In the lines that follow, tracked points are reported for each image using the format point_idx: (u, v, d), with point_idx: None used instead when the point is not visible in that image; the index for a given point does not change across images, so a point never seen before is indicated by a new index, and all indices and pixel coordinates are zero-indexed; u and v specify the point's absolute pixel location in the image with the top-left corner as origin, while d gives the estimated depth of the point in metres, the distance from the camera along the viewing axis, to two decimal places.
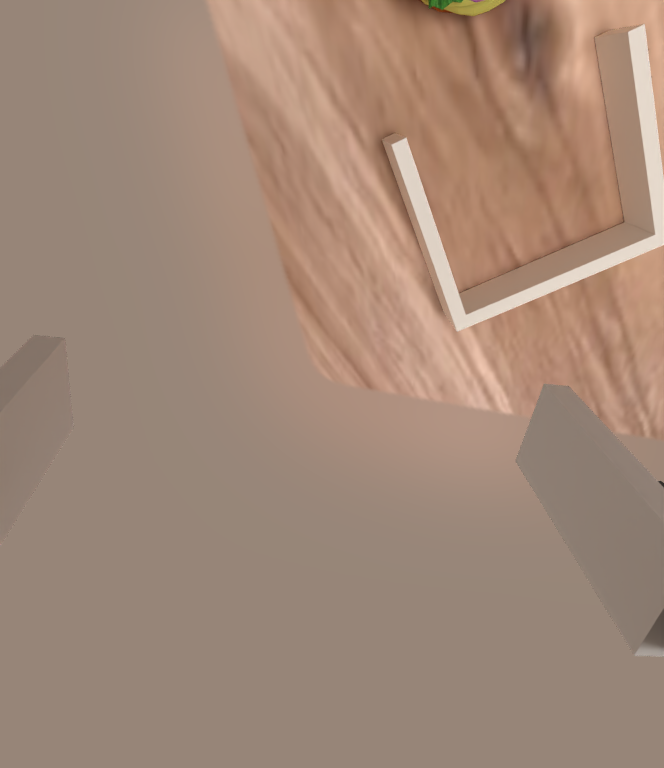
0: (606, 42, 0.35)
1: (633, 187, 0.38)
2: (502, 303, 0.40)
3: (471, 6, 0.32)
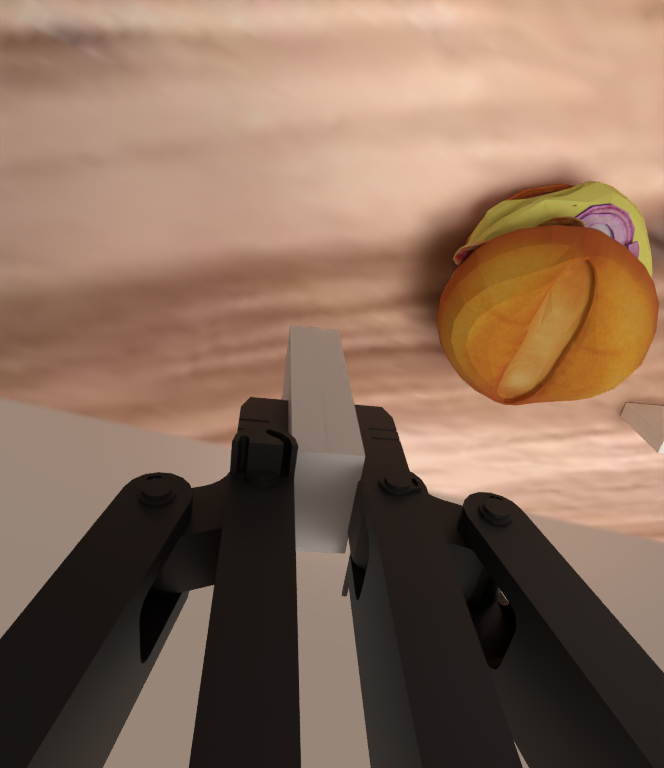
0: None
1: None
2: None
3: None
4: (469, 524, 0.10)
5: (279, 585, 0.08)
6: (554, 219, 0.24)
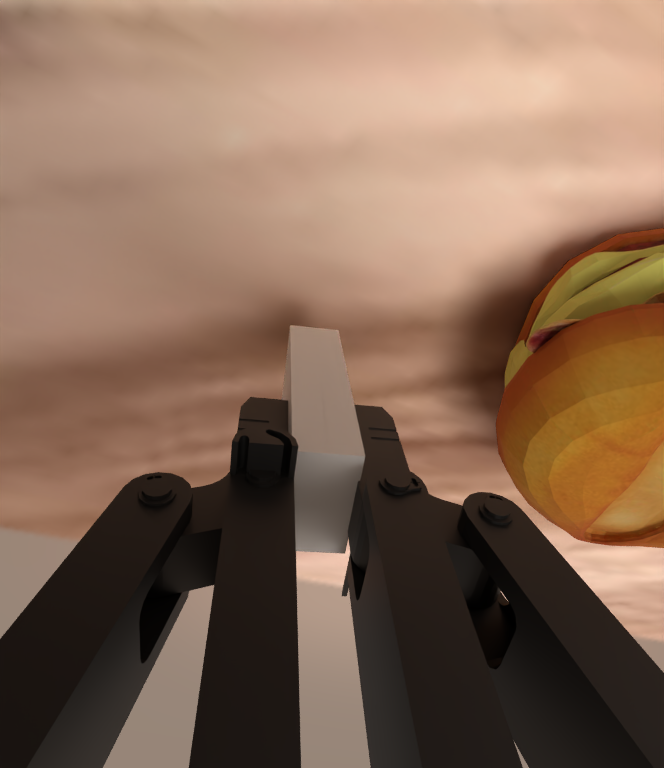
0: None
1: None
2: None
3: None
4: (469, 524, 0.10)
5: (279, 584, 0.08)
6: None
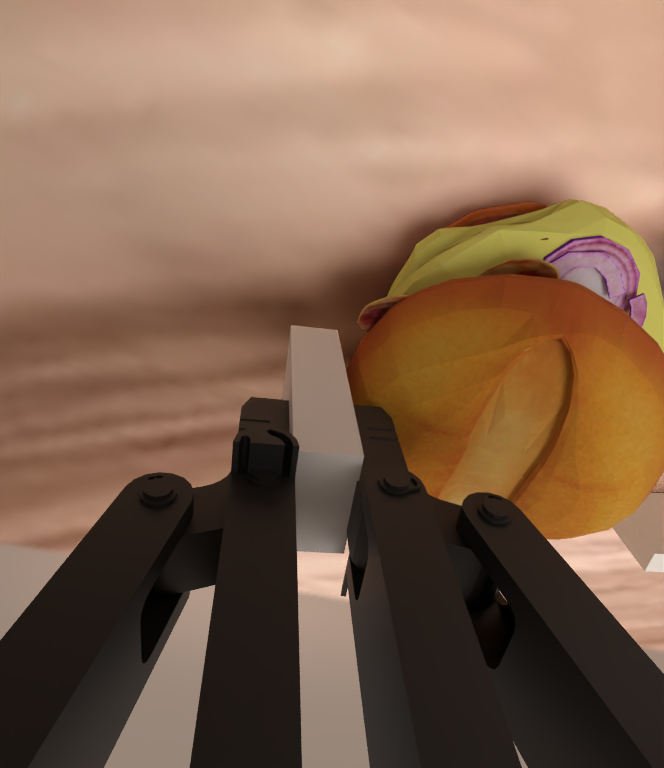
0: None
1: None
2: None
3: None
4: (468, 524, 0.10)
5: (280, 584, 0.08)
6: (511, 262, 0.15)
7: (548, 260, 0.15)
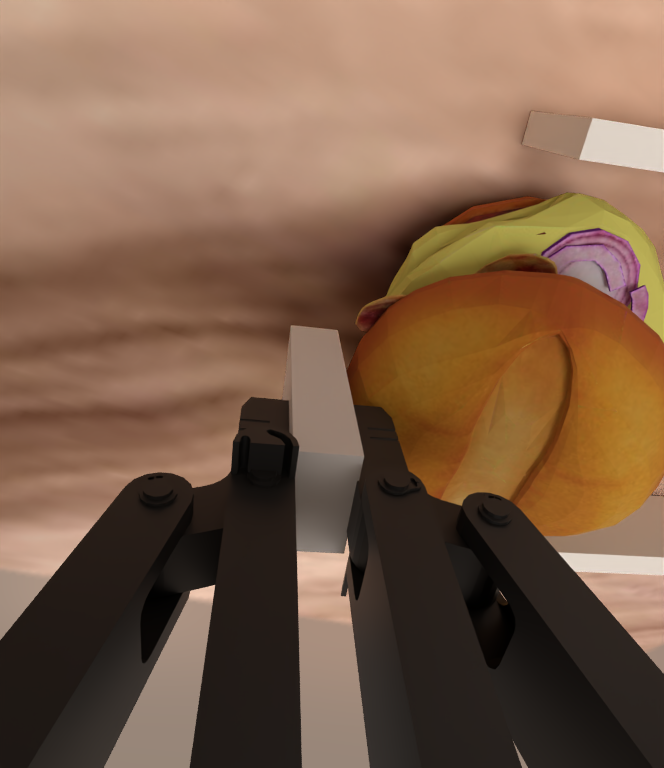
0: None
1: None
2: None
3: None
4: (468, 524, 0.10)
5: (280, 584, 0.08)
6: (509, 258, 0.15)
7: (546, 255, 0.15)
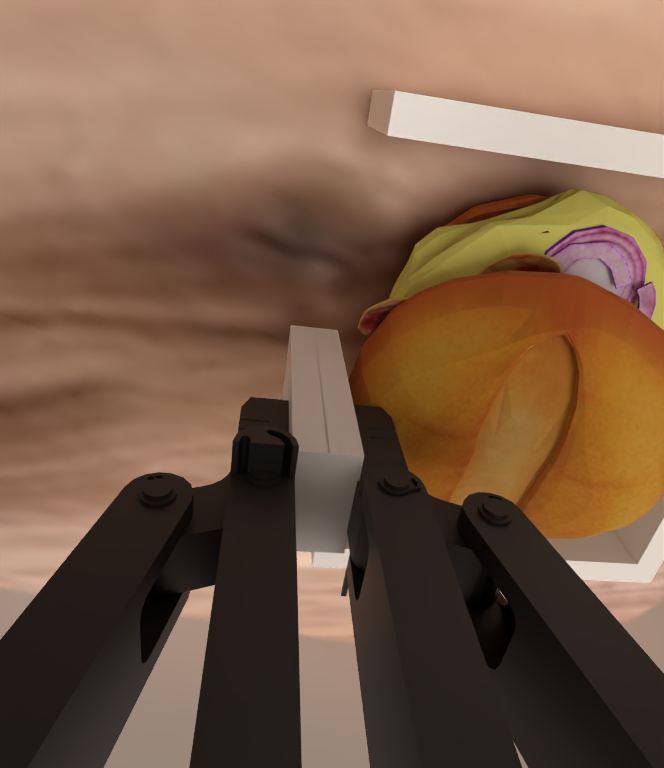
0: None
1: None
2: None
3: None
4: (468, 524, 0.10)
5: (279, 584, 0.08)
6: (512, 257, 0.15)
7: (550, 253, 0.15)
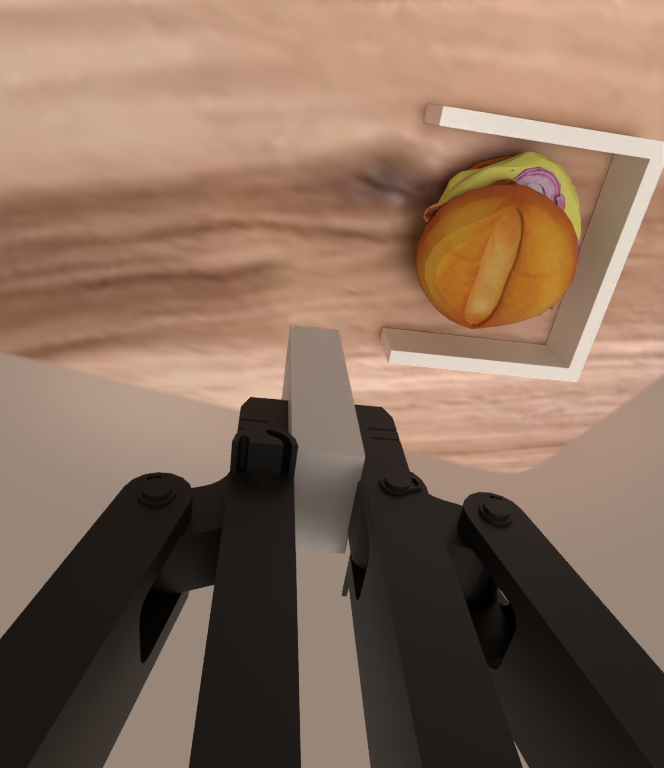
0: None
1: None
2: (586, 333, 0.38)
3: None
4: (469, 524, 0.10)
5: (279, 584, 0.08)
6: (496, 181, 0.32)
7: None
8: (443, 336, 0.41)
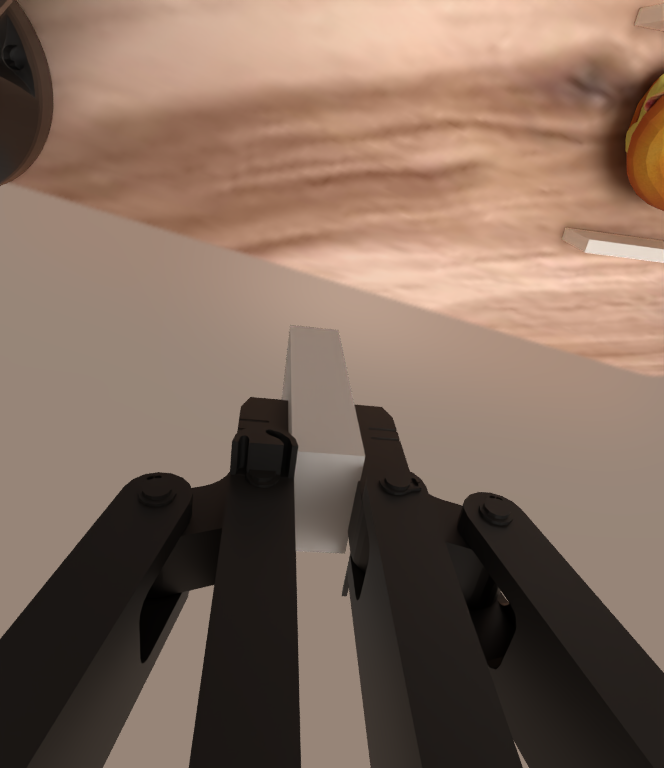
0: (651, 24, 0.37)
1: None
2: None
3: None
4: (469, 524, 0.10)
5: (279, 584, 0.08)
6: None
7: None
8: (620, 235, 0.45)
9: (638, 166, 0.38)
